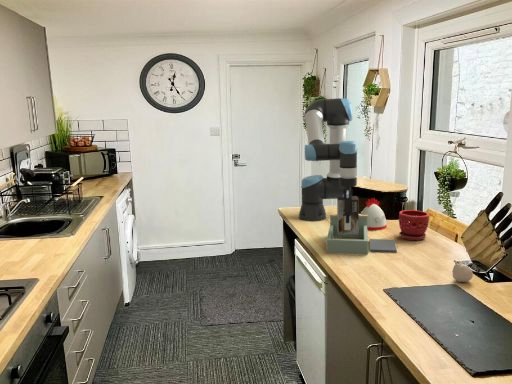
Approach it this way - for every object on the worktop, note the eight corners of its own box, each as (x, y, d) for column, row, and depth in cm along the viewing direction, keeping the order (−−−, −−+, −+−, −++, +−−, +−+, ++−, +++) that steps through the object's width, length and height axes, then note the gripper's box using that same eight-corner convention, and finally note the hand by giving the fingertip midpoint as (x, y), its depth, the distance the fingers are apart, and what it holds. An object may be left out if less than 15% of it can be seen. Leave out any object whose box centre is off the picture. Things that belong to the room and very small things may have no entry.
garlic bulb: (455, 276, 165) (456, 255, 163) (474, 280, 161) (475, 259, 159) (449, 282, 160) (450, 261, 158) (469, 286, 156) (470, 264, 154)
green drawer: (330, 235, 219) (329, 214, 216) (367, 236, 215) (367, 214, 212) (326, 253, 195) (326, 228, 192) (368, 254, 191) (368, 230, 188)
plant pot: (423, 243, 202) (424, 217, 200) (394, 239, 210) (394, 213, 208) (431, 236, 212) (433, 211, 210) (404, 232, 220) (404, 208, 218)
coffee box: (357, 230, 207) (357, 195, 203) (358, 234, 200) (359, 199, 197) (336, 230, 207) (336, 196, 204) (338, 234, 201) (338, 199, 198)
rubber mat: (369, 241, 209) (369, 238, 208) (394, 241, 206) (394, 239, 206) (369, 251, 194) (369, 249, 194) (396, 252, 192) (396, 250, 192)
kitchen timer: (353, 225, 235) (353, 197, 232) (374, 221, 241) (374, 194, 238) (370, 232, 223) (370, 202, 220) (392, 227, 228) (393, 198, 225)
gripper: (340, 172, 209) (340, 220, 214) (338, 181, 190) (338, 233, 195) (357, 172, 207) (356, 221, 212) (356, 181, 188) (356, 234, 193)
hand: (347, 227), depth 203 cm, fingers closed on coffee box, 7 cm apart
